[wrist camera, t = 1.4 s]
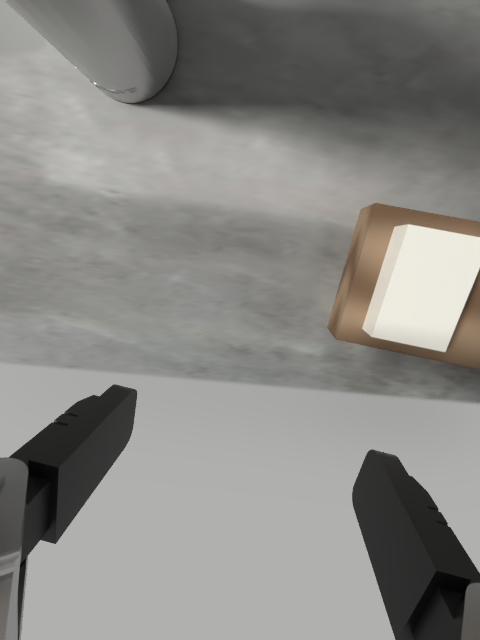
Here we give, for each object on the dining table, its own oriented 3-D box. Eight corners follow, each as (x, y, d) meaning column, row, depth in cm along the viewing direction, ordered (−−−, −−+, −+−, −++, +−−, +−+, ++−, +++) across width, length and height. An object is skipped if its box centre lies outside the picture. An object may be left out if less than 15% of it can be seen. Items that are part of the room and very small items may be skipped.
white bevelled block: (394, 226, 23) (408, 224, 21) (468, 240, 23) (491, 239, 21) (362, 328, 26) (371, 336, 23) (428, 342, 25) (445, 352, 23)
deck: (360, 209, 27) (375, 203, 23) (511, 237, 26) (553, 235, 22) (327, 327, 30) (335, 339, 26) (461, 355, 29) (490, 371, 25)
